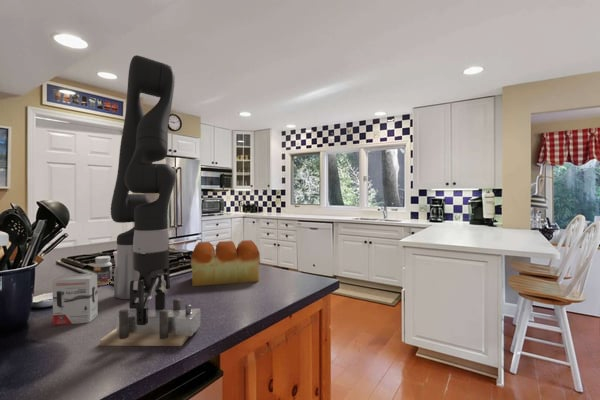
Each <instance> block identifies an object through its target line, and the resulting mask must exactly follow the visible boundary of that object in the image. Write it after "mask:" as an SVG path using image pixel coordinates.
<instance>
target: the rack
mask: <svg viewBox="0 0 600 400" xmlns="http://www.w3.org/2000/svg"><path fill="white" fill-rule="evenodd" d="M144 301H145V298H144ZM128 310H129V309H126V308H125V309H124V308H123V309H120V310H119V311H118V315H119V334H117V327H116V328H115V329H113V330H112V331H110V332H109V333H107V334H106V335H105V336H103V337H102V338H101V339H99V346H109V347H110V346H113V347H114V346H117V347H118V346H119V347H121V346H123V347H124V346H126V347H127V346H128V347H129V346H133V347H135V346H136V347H139V346H140V347H148V346H149V347H153V346H154V347H182V346H183V345H184V343H185V342H186V341H187V340H188V339H189V337H190V336H176V334H168V310H169V309H167V308H165V309H164V310H160V311H159V333H160V334H129V327H128ZM172 310H182V299H181V297H180V298H179V297H178V298H174V299H172Z"/></svg>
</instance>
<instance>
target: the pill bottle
mask: <svg viewBox="0 0 600 400" xmlns="http://www.w3.org/2000/svg"><path fill="white" fill-rule="evenodd" d="M94 262H95V263H94V264H93V273H95V274H97V287H99V286H100V287H101V286H107V284H108V285H110V284H109V282H110V281H111V279H112V280H113V263H112V262H111V256H110V255H102V256H101V255H100V256H96V257H95V259H94Z"/></svg>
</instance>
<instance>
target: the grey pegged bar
mask: <svg viewBox="0 0 600 400" xmlns="http://www.w3.org/2000/svg"><path fill="white" fill-rule="evenodd" d="M192 306H193V305H192V303H187V304H185V309H181V310H173V309H167V310H168V334H176V336H189V337H192V336H193V335H194V334H195V333H196V331H197V330H198V329H199V327H200V326H201V308H192ZM159 311H160V310H156V309H148V323H147V324H146V325H137V313H136V309H128V327H129V334H160V333H159ZM116 328H117V334H119V314H118V315H117V316H116Z"/></svg>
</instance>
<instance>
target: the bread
mask: <svg viewBox="0 0 600 400" xmlns="http://www.w3.org/2000/svg"><path fill="white" fill-rule="evenodd" d="M260 255H261V254H260V251H259V248H258V246H257V245H256V243H255V242H254V241H253V240H252V239H247V240H241V241H240V242H239V243H238V244H237V246H236V244H235V242H234V241H233V240H227V241H226V240H223V241H218V243H217V244H216V247H214V245H213V244H212V243H211V242H210V241H199V242H197V244H196V245H195V246H194V248H193V251H192V254H191V257H190V258H191V259H190V267H191V268H192V269H191V270H192V271H191V272H192V274H191V275H192V277H191V278H192V279H191V280H192V281H191V283H192V285H191V286H192V287H195V286H196V287H198V286H199V287H200V286H211V285H225V284H237V283H238V284H239V283H240V284H241V283H253V282H260V279H259V278H260V277H259V275H260V271H259V269H260V263H261V259H260V258H261V257H260Z"/></svg>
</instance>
